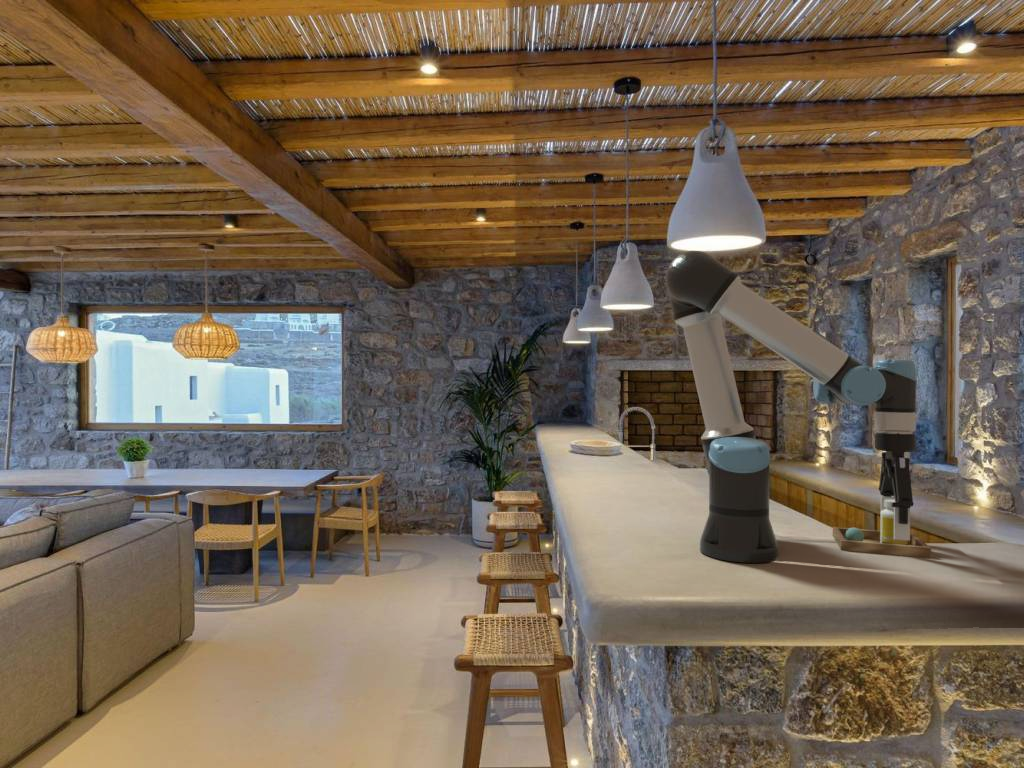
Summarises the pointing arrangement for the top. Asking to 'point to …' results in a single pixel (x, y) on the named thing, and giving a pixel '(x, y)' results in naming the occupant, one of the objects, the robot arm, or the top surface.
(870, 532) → the tray
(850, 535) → the ball
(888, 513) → the supplement bottle
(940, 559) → the top surface
